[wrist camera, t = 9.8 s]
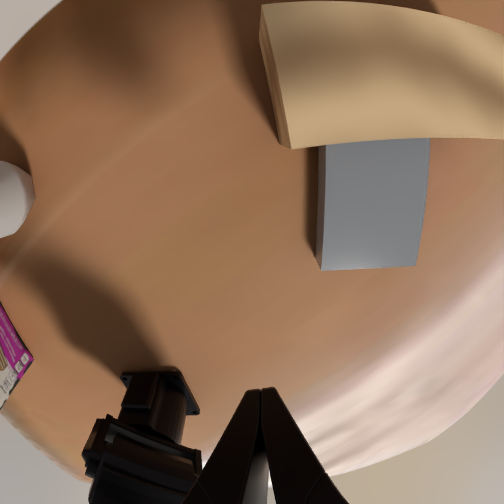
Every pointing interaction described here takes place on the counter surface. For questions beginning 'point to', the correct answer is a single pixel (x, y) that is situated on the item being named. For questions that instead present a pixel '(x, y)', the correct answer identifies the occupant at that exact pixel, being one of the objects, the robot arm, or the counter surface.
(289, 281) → the counter surface
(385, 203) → the slate tile
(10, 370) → the candy bar box
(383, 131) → the oak block
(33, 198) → the salt shaker
